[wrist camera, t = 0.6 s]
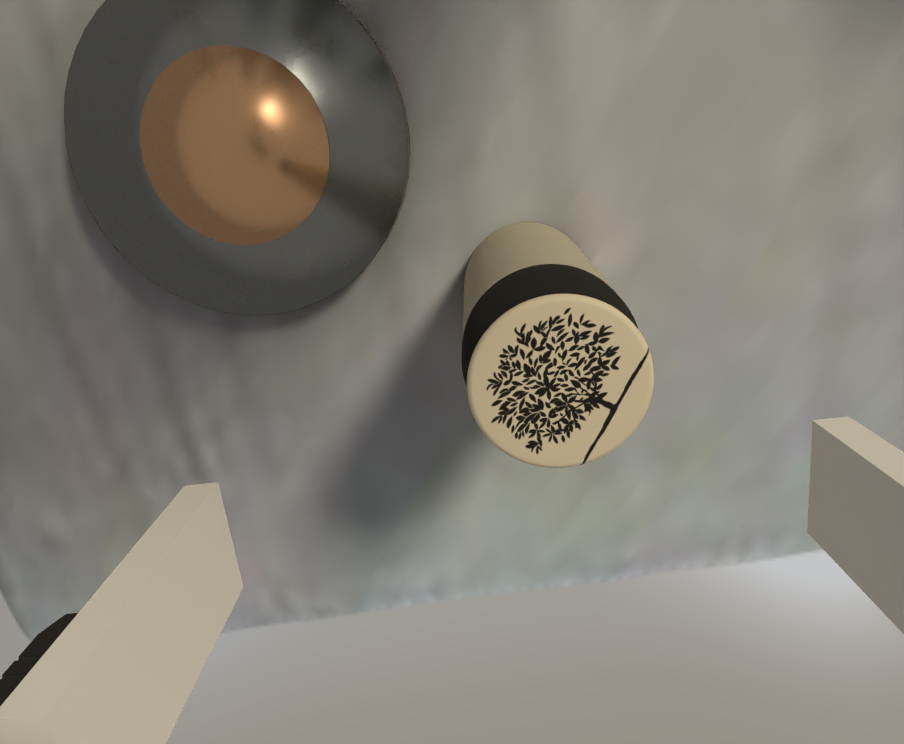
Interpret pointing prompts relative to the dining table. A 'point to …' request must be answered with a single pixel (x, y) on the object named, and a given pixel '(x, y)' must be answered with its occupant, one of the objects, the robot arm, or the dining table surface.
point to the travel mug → (550, 350)
